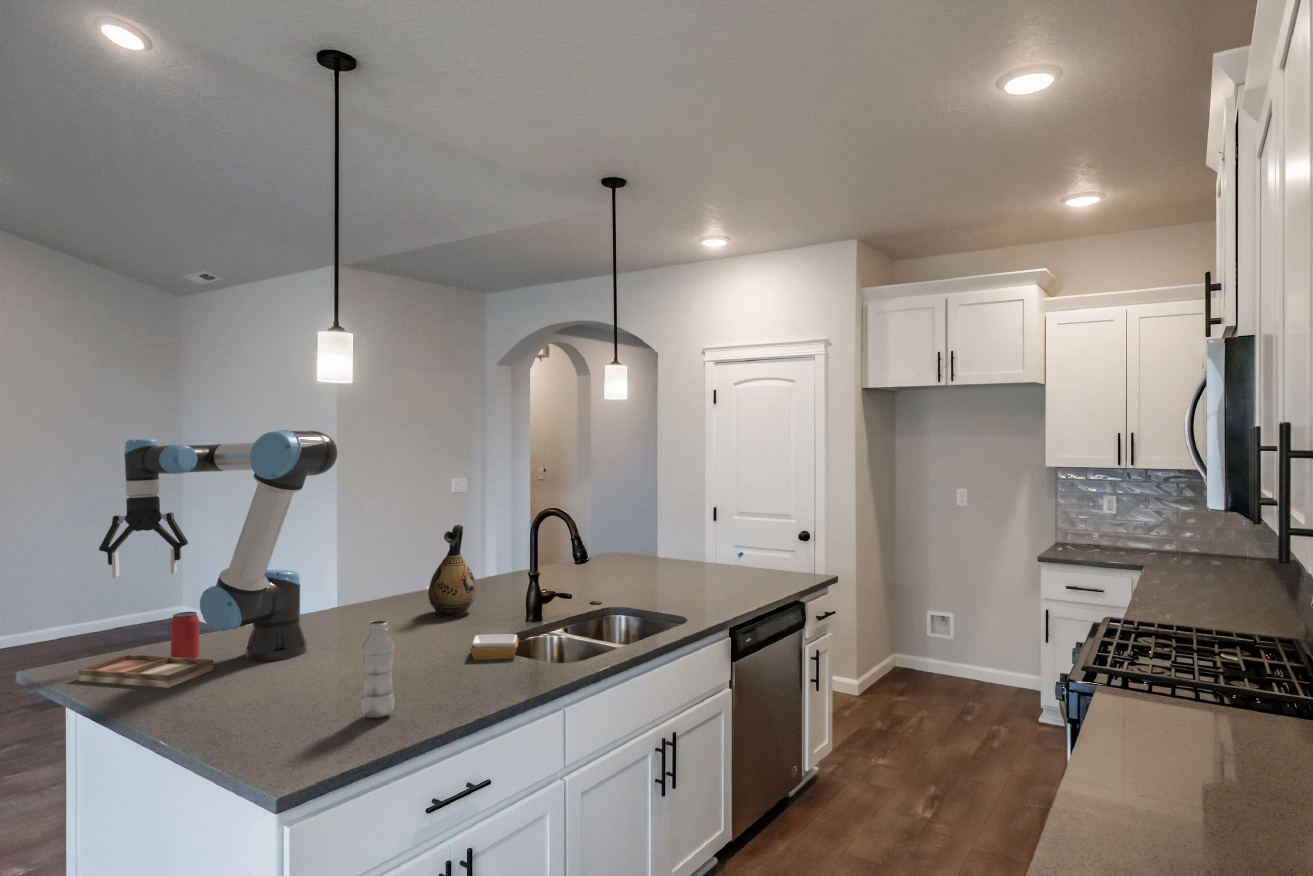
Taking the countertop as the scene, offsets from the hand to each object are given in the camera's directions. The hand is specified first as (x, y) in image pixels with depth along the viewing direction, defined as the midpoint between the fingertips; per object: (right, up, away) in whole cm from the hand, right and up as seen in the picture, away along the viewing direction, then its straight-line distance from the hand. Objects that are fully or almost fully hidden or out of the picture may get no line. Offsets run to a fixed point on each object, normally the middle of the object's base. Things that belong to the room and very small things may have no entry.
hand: (145, 574), depth 209 cm
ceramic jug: (+70, -22, +50) cm, 89 cm away
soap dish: (+94, -23, +1) cm, 97 cm away
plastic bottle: (+79, -23, -44) cm, 93 cm away
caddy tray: (+10, -23, -15) cm, 29 cm away
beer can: (+11, -23, 0) cm, 25 cm away
